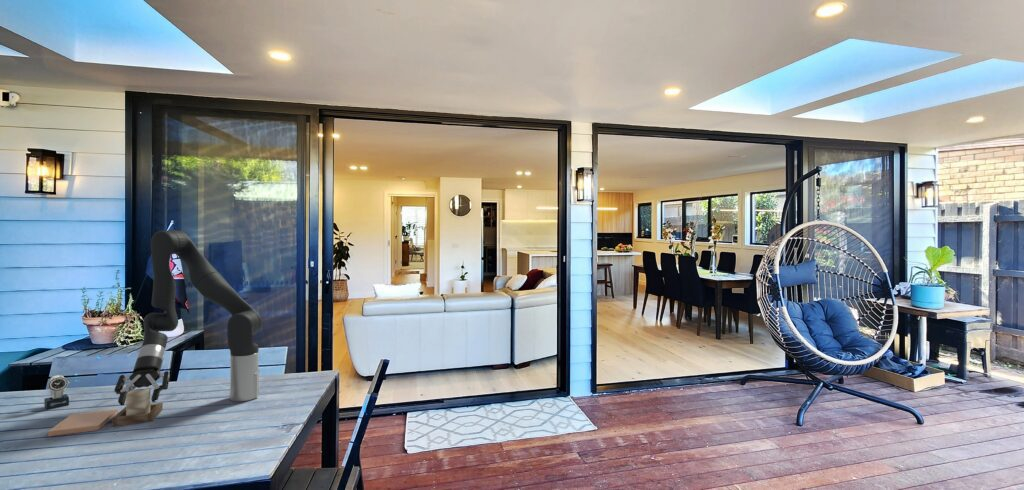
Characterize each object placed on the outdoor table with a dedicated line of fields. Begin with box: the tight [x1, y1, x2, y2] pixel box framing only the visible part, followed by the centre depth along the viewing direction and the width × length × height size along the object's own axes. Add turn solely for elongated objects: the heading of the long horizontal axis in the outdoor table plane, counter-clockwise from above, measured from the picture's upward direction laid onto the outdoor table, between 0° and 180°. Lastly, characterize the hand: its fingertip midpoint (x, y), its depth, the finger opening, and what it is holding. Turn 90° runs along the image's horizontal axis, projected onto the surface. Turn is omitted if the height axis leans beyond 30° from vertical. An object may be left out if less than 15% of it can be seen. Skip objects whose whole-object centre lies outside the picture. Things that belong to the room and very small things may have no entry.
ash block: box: [125, 387, 151, 416], centre depth 148 cm, size 5×5×9 cm
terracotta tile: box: [47, 408, 118, 437], centre depth 142 cm, size 12×14×2 cm
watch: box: [43, 374, 70, 411], centre depth 156 cm, size 6×8×11 cm
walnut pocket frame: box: [111, 402, 163, 427], centre depth 148 cm, size 10×10×2 cm
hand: (137, 402), depth 147 cm, fingers open, 8 cm apart
